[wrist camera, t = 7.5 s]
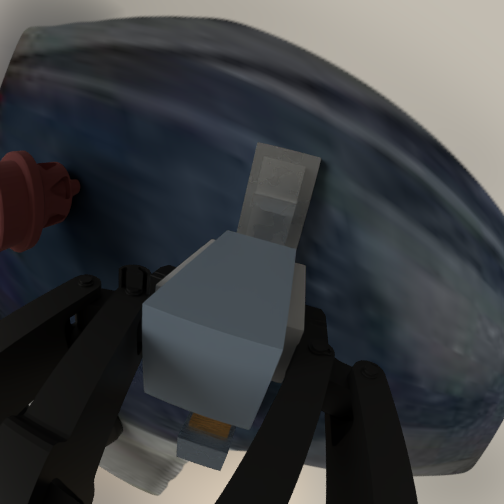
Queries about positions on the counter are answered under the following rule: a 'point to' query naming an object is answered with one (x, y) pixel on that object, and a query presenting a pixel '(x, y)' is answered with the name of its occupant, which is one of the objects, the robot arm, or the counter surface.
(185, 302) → the pale blue-grey block
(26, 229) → the mechanical component
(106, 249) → the counter surface
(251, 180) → the rail
